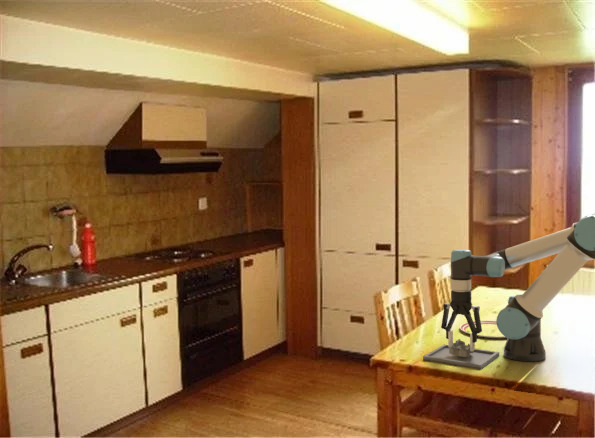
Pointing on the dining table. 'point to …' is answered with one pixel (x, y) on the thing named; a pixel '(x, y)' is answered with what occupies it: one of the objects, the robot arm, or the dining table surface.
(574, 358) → the dining table surface
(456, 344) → the egg carton
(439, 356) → the holder tray
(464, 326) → the striped ring
